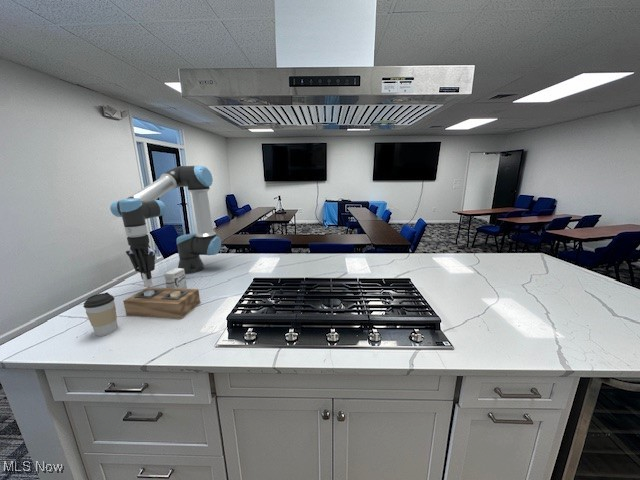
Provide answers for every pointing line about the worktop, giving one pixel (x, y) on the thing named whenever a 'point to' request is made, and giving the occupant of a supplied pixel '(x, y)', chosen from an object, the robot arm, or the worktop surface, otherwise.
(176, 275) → the ink box
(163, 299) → the walnut block
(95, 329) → the coffee cup
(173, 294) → the birch dowel
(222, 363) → the worktop surface
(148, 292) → the steel pin
